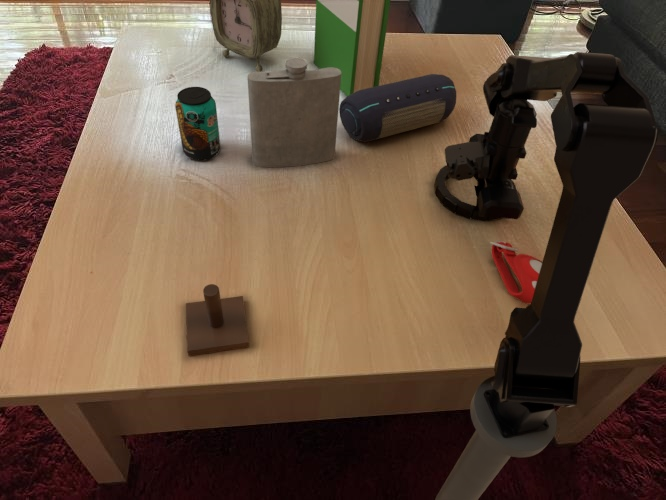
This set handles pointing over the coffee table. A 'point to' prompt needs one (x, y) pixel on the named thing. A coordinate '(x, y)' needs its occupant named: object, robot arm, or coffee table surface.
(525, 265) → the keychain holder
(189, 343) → the post
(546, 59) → the robot arm
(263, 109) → the hip flask
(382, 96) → the portable speaker
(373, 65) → the hardback book
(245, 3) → the tabletop clock
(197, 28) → the coffee table surface
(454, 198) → the ring
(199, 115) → the beverage can
